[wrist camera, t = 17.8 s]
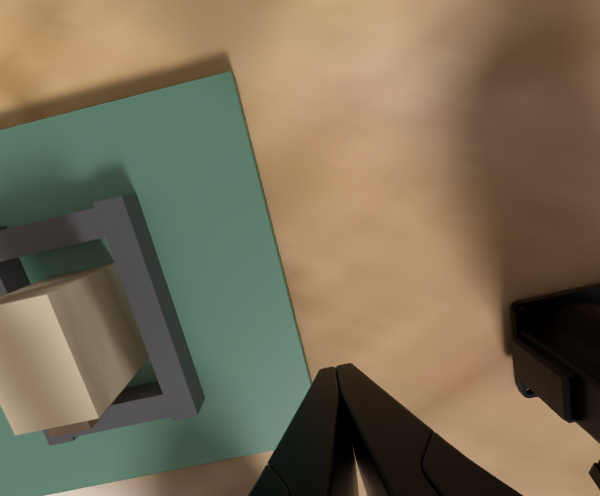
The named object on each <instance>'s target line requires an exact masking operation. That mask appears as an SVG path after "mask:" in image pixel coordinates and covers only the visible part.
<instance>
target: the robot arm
mask: <svg viewBox="0 0 600 496" xmlns="http://www.w3.org/2000/svg"><path fill="white" fill-rule="evenodd" d="M522 307H523V310H522V311H521V312H519V310H520V308H522ZM510 312H511V322H512V332H513V337H512V340H511V344H512V354H513V364H514V373H515V375H516V376H517V383H518V390H519V392H520V393H521V394H522V395H523V396H524V397H526V398H533V397H539V398H540V399H541V400H543V401H544V402H545V403H546V404H547V405H548V406H549V407H550V408H551V409H552V410H553V411H554V412H556V413H557V414H558V415H559V416H560V417H561V418H562V419H563V420H565V421H567V422H568V423H573V422H576V423H577V424H578V425H579V426H581V427H582V428H583V429H584V430H585V431H586V432H587V433H588V434H590V435H591V436H592V437H593V438H594V439H595V440H596V441H597V442H599V443H600V284H595V285H591V286H586V287H581V288H576V289H572V290H567V291H562V292H557V293H553V294H548V295H543V296H539V297H534V298H529V299H524V300H520V301H516V302H514V303H513V304H512V306H511V309H510ZM528 388H529V389H528ZM527 389H528V390H527ZM526 390H527V391H526ZM353 449H354V450H353ZM354 453H355V456H354ZM355 458H356V462H357V465H358V468H359V471H360V474H361V477H362V480H363V483H364V487H365V490H366V493H367V496H523V495H521V494H520V493H518V492H517V491H515V490H514V489H512V488H511V487H509V486H508V485H506V484H505V483H503V482H502V481H500V480H499V479H497V478H496V477H494V476H493V475H491V474H490V473H489V472H487V471H486V470H484V469H483V468H481V467H480V466H478V465H477V464H476V463H474V462H473V461H471V460H470V459H468V458H467V457H466V456H465V455H463V454H462V453H461V452H459V451H458V450H457V449H456V448H454V447H453V446H452V445H450V444H449V443H448V442H447V441H445V440H444V439H443V438H442V437H441V436H439V435H438V434H437V433H435V432H434V431H433V430H432V429H431V428H429V427H428V426H427V425H426V424H425V423H423V422H422V421H421V420H420V419H419V418H417V417H416V416H415V415H414V414H412V413H411V412H410V411H409V410H408V409H406V408H405V407H404V406H403V405H402V404H400V403H399V402H398V401H397V400H395V399H394V398H393V397H392V396H391V395H389V394H388V393H387V392H386V391H385V390H383V389H382V388H381V387H380V386H378V385H377V384H376V383H375V382H374V381H372V380H371V379H370V378H369V377H368V376H366V375H365V374H364V373H363V372H361V371H360V370H359V369H358V368H357V367H355V366H354V365H353V364H351V363H347V364H342V365H338V366H337V367H336V368H335V367H328V368H323V369H320V370H319V372H318V374H317V375H316V377H315V379H314V381H313V383H312V384H311V386H310V388H309V390H308V391H307V393H306V395H305V397H304V399H303V400H302V402H301V404H300V406H299V408H298V409H297V411H296V413H295V415H294V417H293V418H292V420H291V422H290V424H289V425H288V427H287V429H286V431H285V433H284V434H283V436H282V438H281V440H280V442H279V443H278V445H277V447H276V449H275V451H274V452H273V454H272V456H271V458H270V459H269V461H268V465H266V466H265V468H264V470H263V472H262V473H261V475H260V477H259V479H258V481H257V482H256V484H255V486H254V487H253V489H252V491H251V492H250V494H249V496H359V493H358V482H357V471H356V462H355ZM589 474H590V476H591V477H592V479H593V480H594V482H595V483H596V485H597V486H598V488H599V489H600V460H599V461H598V463H594V464H593V466H592V467H591V469H590V471H589Z"/></svg>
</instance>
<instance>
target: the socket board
mask: <svg viewBox="0 0 600 496" xmlns="http://www.w3.org/2000/svg"><path fill="white" fill-rule="evenodd" d="M111 263H115V265H116V268H117V270H118V273H119V276H120V279H121V281H122V284H123V287H124V289H125V292H126V295H127V298H128V300H129V303H130V306H131V309H132V311H133V314H134V317H135V319H136V322H137V325H138V328H139V330H140V333H141V336H142V338H143V341H144V344H145V347H146V349H147V352H148V355H149V359H148V360H147V361H146V362H145V363H144V365H143V366H142V367H141V368H140V369H139V371H138V372H137V373H136V374H135V375H134V378H133V379H132V380H131V381H130V383H129V384H128V385H127V386H126V388H125V389H124V390H123V391H122V392H121V394H120V395H119V396H118V397H117V398H116V400H115V401H114V402H113V403H112V405H111V406H110V407H109V408H108V409H107V411H106V412H105V413H104V414H103V415H102V417H101V418H100V419H99V420H98V422H97V423H96V424H95V425H94V426H93V428H92V429H90V430H85V431H80V432H75V433H70V434H65V435H60V436H55V437H51V436H50V434H49V432H48V430H47V429H45V430H40V431H35V432H30V433H25V434H20V435H15V434H14V432H13V430H12V428H11V426H10V424H9V422H8V420H7V418H6V416H5V414H4V412H3V410H2V408H1V406H0V496H44V495H49V494H54V493H59V492H64V491H69V490H74V489H79V488H84V487H90V486H95V485H100V484H105V483H110V482H115V481H120V480H125V479H130V478H135V477H140V476H145V475H151V474H156V473H161V472H166V471H171V470H176V469H181V468H186V467H191V466H196V465H201V464H206V463H212V462H217V461H222V460H227V459H232V458H237V457H242V456H247V455H252V454H257V453H262V452H267V451H273V450H275V449H276V447H277V445H278V443H279V442H280V440H281V438H282V436H283V434H284V433H285V431H286V429H287V427H288V425H289V424H290V422H291V420H292V418H293V417H294V415H295V413H296V411H297V409H298V408H299V406H300V404H301V402H302V400H303V399H304V397H305V395H306V393H307V391H308V390H309V388H310V386H311V384H312V381H311V377H310V373H309V369H308V365H307V361H306V357H305V353H304V349H303V345H302V341H301V337H300V333H299V329H298V325H297V321H296V317H295V313H294V309H293V305H292V301H291V297H290V293H289V289H288V286H287V282H286V278H285V274H284V270H283V266H282V262H281V258H280V254H279V250H278V246H277V242H276V238H275V234H274V230H273V226H272V222H271V218H270V214H269V210H268V206H267V202H266V198H265V194H264V190H263V186H262V182H261V178H260V174H259V171H258V167H257V163H256V159H255V155H254V151H253V147H252V143H251V139H250V135H249V131H248V127H247V123H246V119H245V115H244V111H243V107H242V103H241V99H240V95H239V91H238V87H237V83H236V79H235V76H234V75H233V73H232V72H231V71H229V72H225V73H221V74H217V75H213V76H209V77H205V78H202V79H198V80H194V81H190V82H186V83H182V84H178V85H174V86H170V87H166V88H162V89H158V90H155V91H151V92H147V93H143V94H139V95H135V96H131V97H127V98H123V99H119V100H115V101H112V102H108V103H104V104H100V105H96V106H92V107H88V108H84V109H80V110H76V111H72V112H69V113H65V114H61V115H57V116H53V117H49V118H45V119H41V120H37V121H33V122H29V123H25V124H22V125H18V126H14V127H10V128H6V129H2V130H0V297H1V296H4V295H6V294H9V293H11V292H14V291H16V290H19V289H21V288H24V287H26V286H29V285H31V284H34V283H36V282H39V281H41V280H44V279H46V278H49V277H54V276H58V275H62V274H67V273H71V272H76V271H80V270H84V269H89V268H93V267H97V266H102V265H106V264H111Z"/></svg>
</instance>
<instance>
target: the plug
mask: <svg viewBox="0 0 600 496" xmlns="http://www.w3.org/2000/svg"><path fill="white" fill-rule="evenodd" d="M148 359H149V355H148V352H147V349H146V347H145V344H144V341H143V338H142V336H141V333H140V330H139V328H138V325H137V322H136V319H135V317H134V314H133V311H132V309H131V306H130V303H129V300H128V298H127V295H126V292H125V289H124V287H123V284H122V281H121V279H120V276H119V273H118V270H117V268H116V265H115V263H111V264H106V265H102V266H97V267H93V268H89V269H84V270H80V271H76V272H71V273H67V274H62V275H58V276H54V277H49V278H46V279H44V280H41V281H39V282H36V283H34V284H31V285H29V286H26V287H24V288H21V289H19V290H16V291H14V292H11V293H9V294H6V295H4V296H1V297H0V406H1V408H2V410H3V412H4V414H5V416H6V418H7V420H8V422H9V424H10V426H11V428H12V430H13V432H14V434H15V435H20V434H25V433H30V432H35V431H40V430H45V429H47V430H48V432H49V434H50V436H51V437H55V436H60V435H65V434H70V433H75V432H80V431H85V430H90V429H92V428H93V426H94V425H95V424H96V423H97V422H98V420H99V419H100V418H101V417H102V415H103V414H104V413H105V412H106V411H107V409H108V408H109V407H110V406H111V405H112V403H113V402H114V401H115V400H116V398H117V397H118V396H119V395H120V394H121V392H122V391H123V390H124V389H125V388H126V386H127V385H128V384H129V383H130V381H131V380H132V379H133V378H134V375H135V374H136V373H137V372H138V371H139V369H140V368H141V367H142V366H143V365H144V363H145V362H146V361H147V360H148Z"/></svg>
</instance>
